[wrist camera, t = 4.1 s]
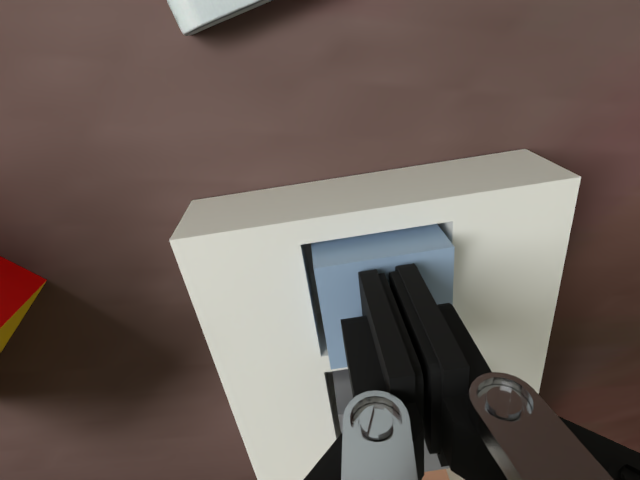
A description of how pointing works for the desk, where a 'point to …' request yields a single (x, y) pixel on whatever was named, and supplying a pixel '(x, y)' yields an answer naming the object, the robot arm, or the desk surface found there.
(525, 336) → the button panel
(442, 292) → the slate blue button
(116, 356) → the desk surface
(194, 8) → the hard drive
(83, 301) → the desk surface
